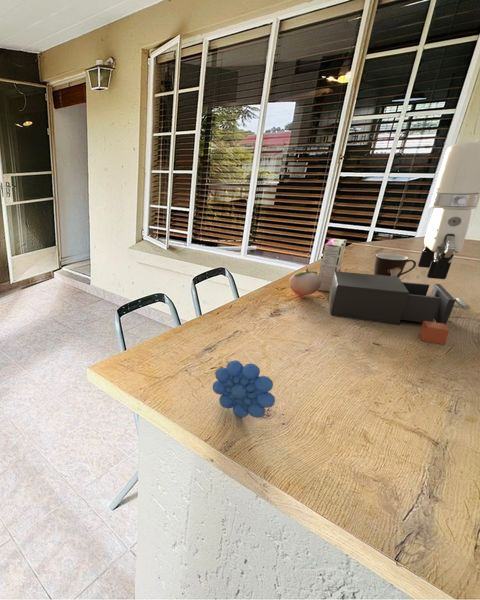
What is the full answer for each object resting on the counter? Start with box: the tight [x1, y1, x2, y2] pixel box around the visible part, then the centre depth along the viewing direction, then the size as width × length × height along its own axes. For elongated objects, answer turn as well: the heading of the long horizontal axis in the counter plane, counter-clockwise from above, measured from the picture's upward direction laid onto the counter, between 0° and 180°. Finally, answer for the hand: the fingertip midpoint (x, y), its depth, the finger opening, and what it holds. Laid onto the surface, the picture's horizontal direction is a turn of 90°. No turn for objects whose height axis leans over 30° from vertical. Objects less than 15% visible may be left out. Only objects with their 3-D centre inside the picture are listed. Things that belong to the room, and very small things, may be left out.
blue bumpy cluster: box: [212, 359, 276, 419], centre depth 64 cm, size 12×7×12 cm, turn 35°
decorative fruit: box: [288, 268, 321, 298], centre depth 116 cm, size 9×8×10 cm
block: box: [418, 321, 451, 345], centre depth 87 cm, size 4×4×4 cm
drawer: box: [400, 281, 471, 326], centre depth 98 cm, size 19×13×8 cm
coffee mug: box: [373, 253, 417, 278], centre depth 122 cm, size 12×9×10 cm
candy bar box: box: [317, 238, 348, 293], centre depth 122 cm, size 11×5×16 cm, turn 137°
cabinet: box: [328, 271, 409, 326], centre depth 104 cm, size 16×15×10 cm
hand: (430, 272), depth 86 cm, fingers open, 9 cm apart
